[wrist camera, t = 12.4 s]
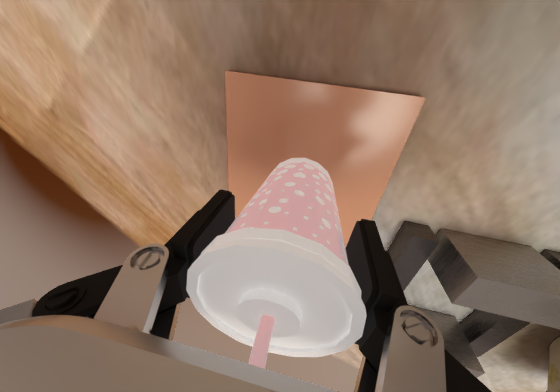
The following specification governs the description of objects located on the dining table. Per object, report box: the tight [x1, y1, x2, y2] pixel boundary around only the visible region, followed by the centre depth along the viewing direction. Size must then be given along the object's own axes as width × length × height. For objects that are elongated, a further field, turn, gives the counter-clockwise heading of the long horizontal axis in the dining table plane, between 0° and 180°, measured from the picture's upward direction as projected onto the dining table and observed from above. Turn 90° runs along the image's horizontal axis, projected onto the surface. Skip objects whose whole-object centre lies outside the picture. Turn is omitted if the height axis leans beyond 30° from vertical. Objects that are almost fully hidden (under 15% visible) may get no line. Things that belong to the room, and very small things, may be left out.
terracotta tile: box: [225, 71, 426, 245], centre depth 17 cm, size 13×13×1 cm
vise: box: [387, 221, 560, 378], centre depth 18 cm, size 13×14×5 cm
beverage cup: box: [186, 158, 367, 369], centre depth 8 cm, size 6×6×14 cm
